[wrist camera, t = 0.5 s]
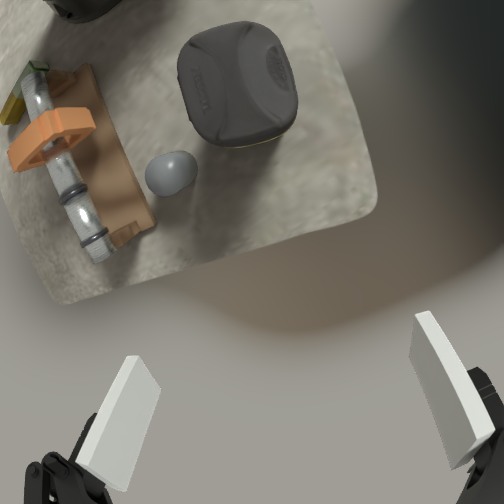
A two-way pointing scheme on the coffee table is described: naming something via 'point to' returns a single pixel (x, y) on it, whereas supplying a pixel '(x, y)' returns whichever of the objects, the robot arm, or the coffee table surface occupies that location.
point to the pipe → (68, 176)
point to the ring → (49, 135)
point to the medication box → (19, 95)
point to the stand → (102, 158)
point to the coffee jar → (237, 85)
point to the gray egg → (170, 173)
